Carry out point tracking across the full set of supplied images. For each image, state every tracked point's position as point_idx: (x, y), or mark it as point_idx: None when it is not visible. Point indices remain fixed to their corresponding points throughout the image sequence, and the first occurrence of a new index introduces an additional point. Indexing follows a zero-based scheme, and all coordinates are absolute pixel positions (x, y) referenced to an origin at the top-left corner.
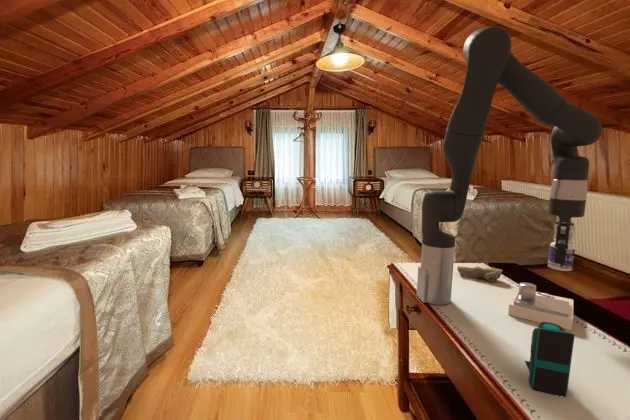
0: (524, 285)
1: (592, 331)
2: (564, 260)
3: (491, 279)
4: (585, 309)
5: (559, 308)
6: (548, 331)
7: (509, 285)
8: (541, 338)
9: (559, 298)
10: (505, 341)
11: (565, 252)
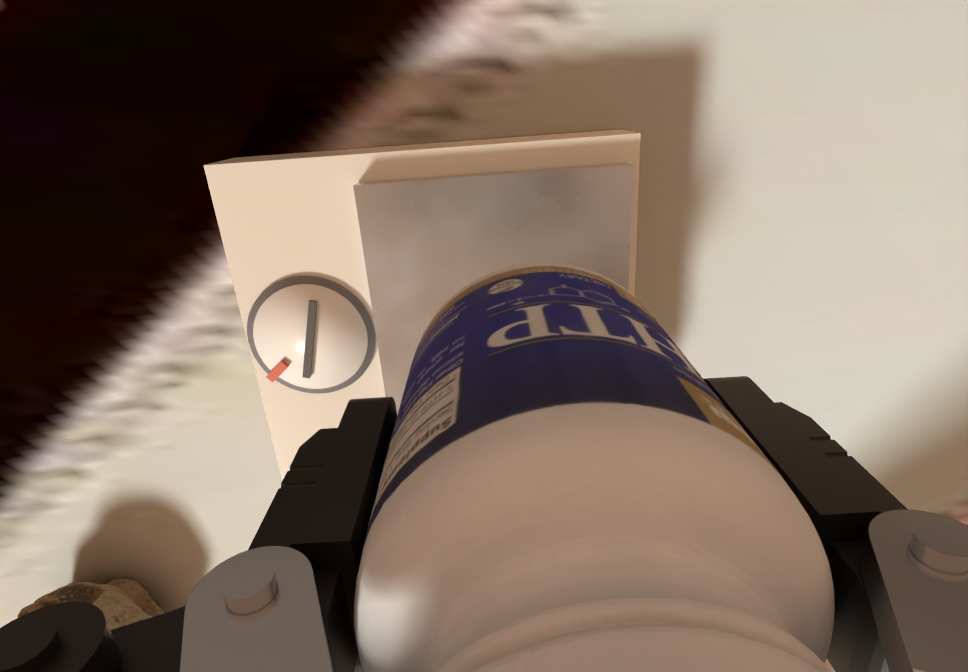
0: None
1: (545, 20)
2: (770, 406)
3: (141, 601)
4: (146, 81)
5: (554, 225)
6: None
7: (110, 509)
8: None
9: (264, 247)
10: (951, 366)
11: (846, 492)
